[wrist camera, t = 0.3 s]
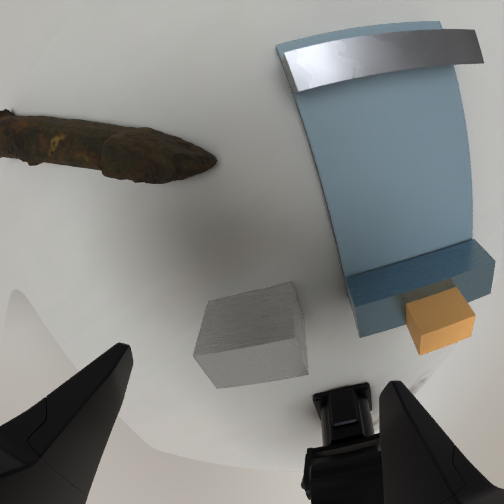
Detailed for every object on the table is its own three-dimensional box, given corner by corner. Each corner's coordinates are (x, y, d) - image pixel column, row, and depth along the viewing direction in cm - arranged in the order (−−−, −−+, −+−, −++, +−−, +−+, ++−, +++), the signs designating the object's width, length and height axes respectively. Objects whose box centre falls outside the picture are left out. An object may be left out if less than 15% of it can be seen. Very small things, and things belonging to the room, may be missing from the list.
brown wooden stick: (9, 151, 19) (-27, 168, 15) (11, 106, 17) (-28, 118, 13) (208, 195, 20) (192, 226, 16) (223, 139, 18) (208, 155, 14)
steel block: (303, 317, 25) (308, 374, 20) (226, 333, 26) (217, 388, 21) (291, 280, 23) (294, 337, 18) (208, 300, 25) (192, 356, 19)
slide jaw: (471, 270, 20) (508, 319, 15) (351, 308, 22) (368, 370, 17) (474, 239, 18) (517, 285, 13) (345, 278, 21) (364, 341, 16)
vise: (465, 261, 21) (490, 293, 17) (348, 297, 23) (359, 337, 20) (432, 23, 12) (468, 13, 8) (275, 47, 15) (276, 34, 11)
